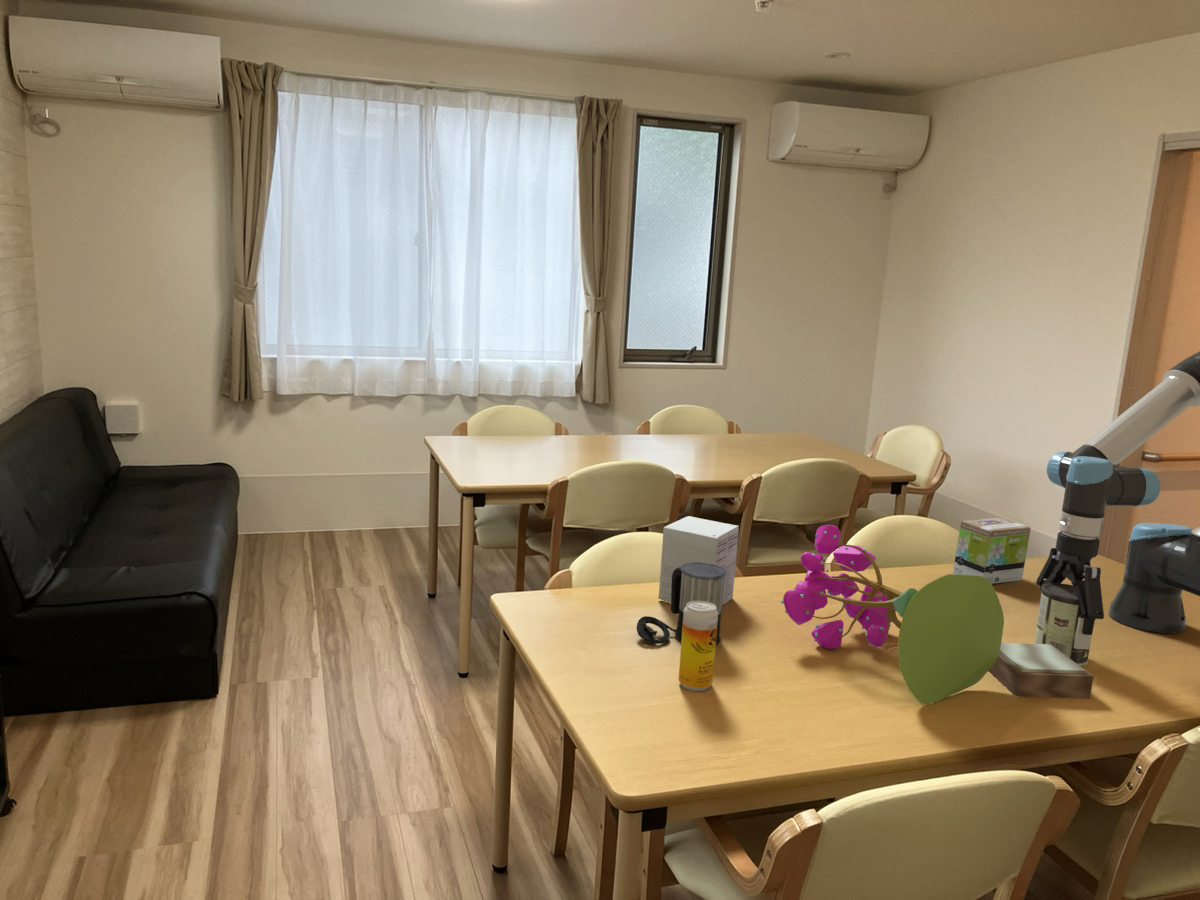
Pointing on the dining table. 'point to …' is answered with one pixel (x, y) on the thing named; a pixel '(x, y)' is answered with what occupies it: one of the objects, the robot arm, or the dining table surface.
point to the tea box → (992, 549)
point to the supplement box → (698, 550)
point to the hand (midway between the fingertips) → (1062, 635)
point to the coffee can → (1060, 621)
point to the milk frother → (688, 598)
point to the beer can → (698, 645)
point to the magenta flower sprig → (905, 618)
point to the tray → (1040, 672)
